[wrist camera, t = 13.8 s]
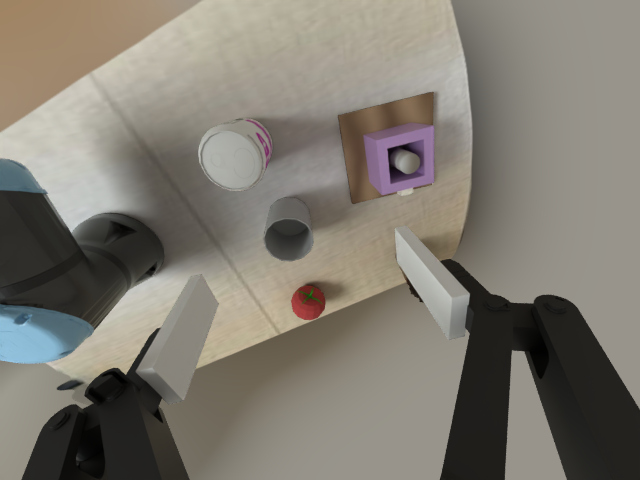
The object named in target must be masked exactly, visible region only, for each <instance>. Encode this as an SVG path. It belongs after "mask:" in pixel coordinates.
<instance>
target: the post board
mask: <svg viewBox="0 0 640 480" xmlns="http://www.w3.org/2000/svg"><path fill="white" fill-rule="evenodd" d="M433 93H434V92H430V93H426V94H422V95H418V96H414V97H410V98H406V99H402V100H398V101H394V102H390V103H386V104H382V105H378V106H374V107H370V108H366V109H362V110H358V111H354V112H350V113H346V114H342V115H338V120H339V126H340V132H341V138H342V145H343V151H344V157H345V163H346V170H347V176H348V182H349V188H350V194H351V201H352V203H353V204H355V203H359V202H363V201H367V200H371V199H375V198H380V197H384V196H388V195H392V194H396V193H397V192H393V193H389V194H385V195H381V194H380V193H379V191H378V190H377V189H376V188H375V187H374V186H373V185H372V184H371V183H370V182H369V175H368V167H367V160H366V152H365V144H364V137H363V135H365V134H369V133H373V132H376V131H380V130H384V129H388V128H392V127H396V126H400V125H404V124H408V123H411V122H412V123H419V124H426V125H433ZM387 151H388V162H389V169H391V168H397V169H399V170H400V171H402V172H403V173H405V174H412V173H414V172H415V171H416V170H417V169H418V168H419V165H420V158H419V157H418V156H417V155H416V154H414V153H411V152H409V151H407V150H404V144H403V145H399V146H395V147H391V148H387ZM429 185H432V183H430V184H426V185H422V186H418V187H414V188H413V189H417V188H421V187H425V186H429Z"/></svg>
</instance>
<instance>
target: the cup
mask: <svg viewBox="0 0 640 480" xmlns="http://www.w3.org/2000/svg"><path fill="white" fill-rule="evenodd" d="M263 240H264V244H265V248H266V250H267V251H268V252H269V253H270V254H271V256H273V257H275V258H277V259H279V260H281V261H295V260H298V259H301V258H303V257H304V256H305V255H307V254H308V253H309V252H310V250H311V248H312V246H313V243H314V241H313V232H312V226H311V219H310V213H309V209H308V208H307V206H306V205H305V203H304V202H302V201H300V200H298V199H297V198H291V197H285V198H282V199H279V200H277V201H276V202H275V203H274V204H273V205H272V206H271V208H270V211H269V214H268V219H267V224H266V229H265V233H264V238H263Z"/></svg>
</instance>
